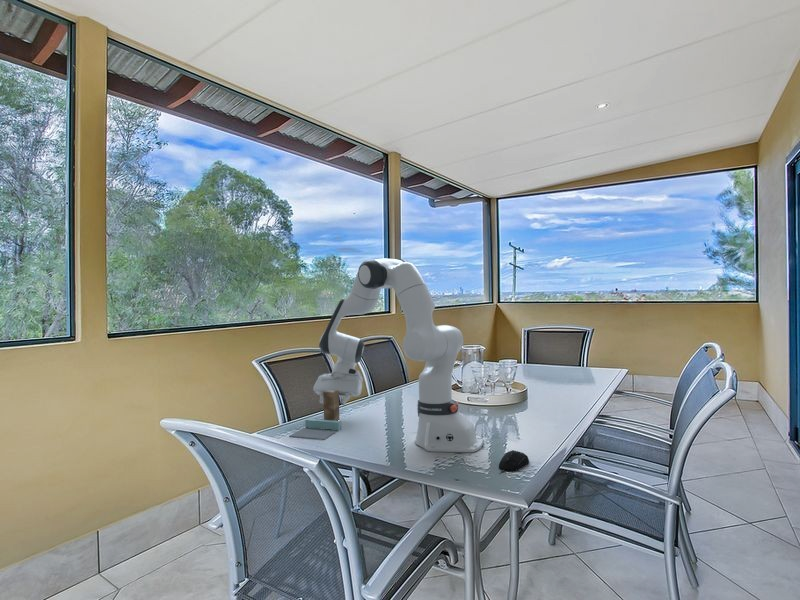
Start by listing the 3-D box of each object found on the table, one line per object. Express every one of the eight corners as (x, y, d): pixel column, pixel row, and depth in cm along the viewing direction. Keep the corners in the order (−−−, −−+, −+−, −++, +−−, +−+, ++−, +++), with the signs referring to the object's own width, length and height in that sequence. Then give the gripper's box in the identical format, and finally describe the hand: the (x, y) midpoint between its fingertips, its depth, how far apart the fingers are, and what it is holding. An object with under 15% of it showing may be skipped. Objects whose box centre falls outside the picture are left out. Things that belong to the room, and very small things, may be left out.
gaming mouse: (488, 472, 126) (488, 458, 126) (513, 457, 137) (512, 444, 137) (509, 478, 122) (509, 463, 122) (532, 461, 133) (532, 448, 133)
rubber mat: (336, 432, 165) (336, 431, 165) (324, 440, 156) (324, 439, 156) (302, 429, 169) (302, 428, 169) (289, 436, 161) (289, 435, 161)
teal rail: (341, 429, 169) (340, 421, 169) (338, 430, 167) (338, 422, 167) (308, 426, 173) (307, 418, 173) (305, 427, 171) (305, 419, 171)
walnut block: (339, 420, 180) (338, 390, 180) (334, 423, 176) (333, 392, 176) (329, 419, 182) (328, 389, 181) (324, 422, 177) (323, 391, 177)
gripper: (317, 369, 189) (305, 397, 180) (362, 371, 183) (352, 400, 174) (322, 377, 194) (311, 406, 185) (366, 379, 187) (357, 409, 178)
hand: (331, 403), depth 179 cm, fingers open, 8 cm apart
